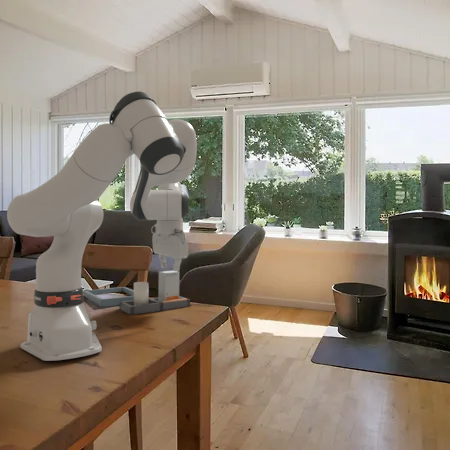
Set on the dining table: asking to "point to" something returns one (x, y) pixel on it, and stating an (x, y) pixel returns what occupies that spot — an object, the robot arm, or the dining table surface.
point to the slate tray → (110, 301)
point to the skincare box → (168, 286)
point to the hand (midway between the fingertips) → (170, 269)
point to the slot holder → (153, 305)
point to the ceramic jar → (141, 293)
